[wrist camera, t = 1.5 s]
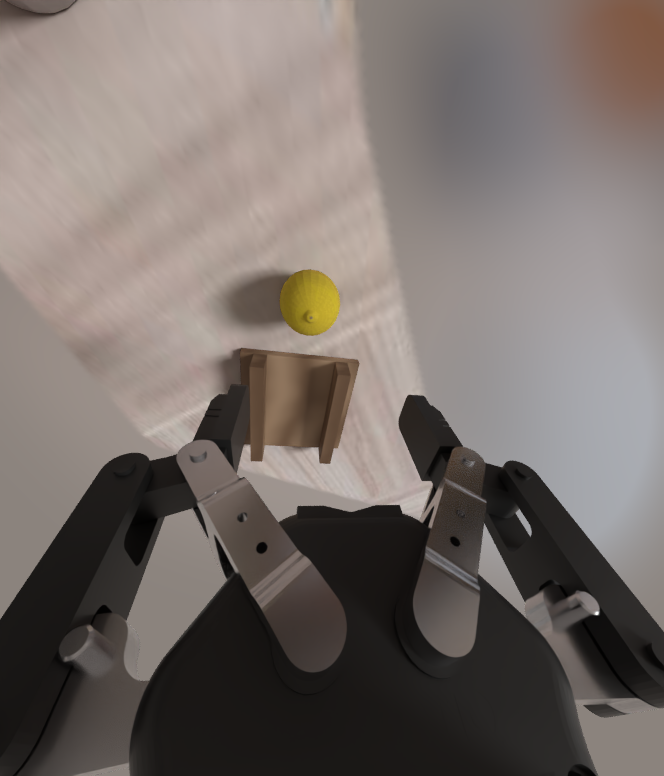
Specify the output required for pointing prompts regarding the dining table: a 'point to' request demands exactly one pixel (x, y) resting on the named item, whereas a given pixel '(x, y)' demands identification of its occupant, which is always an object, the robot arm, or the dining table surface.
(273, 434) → the cradle
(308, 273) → the lemon
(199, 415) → the dining table surface
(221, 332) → the dining table surface
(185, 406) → the dining table surface
